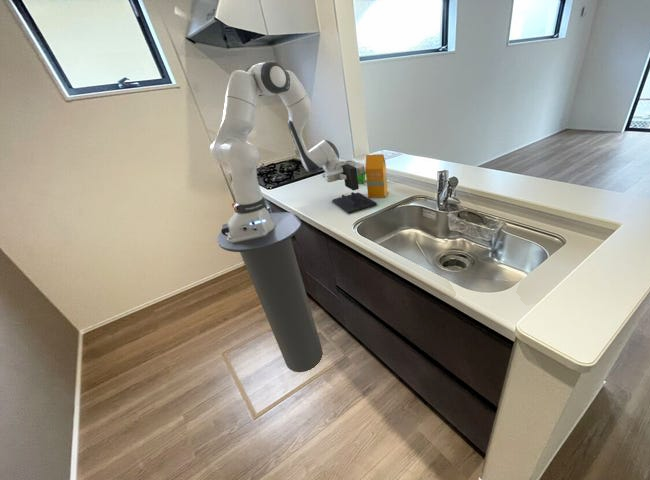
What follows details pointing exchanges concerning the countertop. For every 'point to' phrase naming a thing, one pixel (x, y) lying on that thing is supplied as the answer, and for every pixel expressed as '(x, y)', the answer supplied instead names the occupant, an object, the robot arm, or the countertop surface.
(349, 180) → the upright pad
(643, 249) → the countertop surface
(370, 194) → the orange juice
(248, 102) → the robot arm
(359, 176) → the fruit basket
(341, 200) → the base pad
